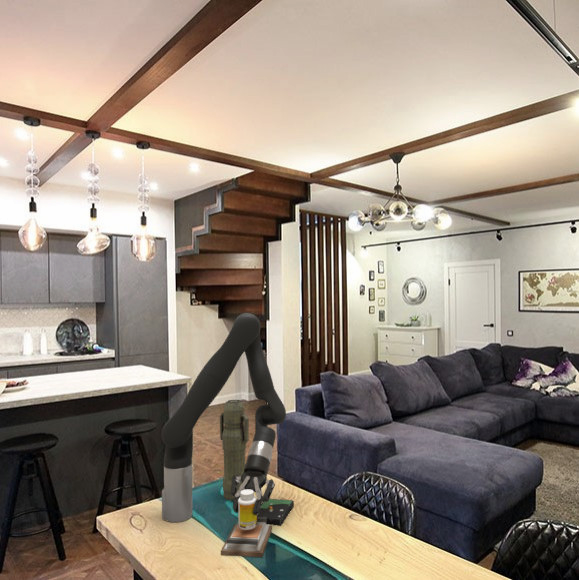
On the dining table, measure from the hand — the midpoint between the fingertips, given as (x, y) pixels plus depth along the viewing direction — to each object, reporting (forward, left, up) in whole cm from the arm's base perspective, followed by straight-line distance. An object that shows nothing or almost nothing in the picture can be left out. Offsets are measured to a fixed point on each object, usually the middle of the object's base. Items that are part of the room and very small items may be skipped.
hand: (245, 512), depth 137 cm
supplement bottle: (0, +2, -5) cm, 5 cm away
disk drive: (+5, +20, -10) cm, 23 cm away
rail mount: (0, +2, -9) cm, 9 cm away
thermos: (-12, +34, -9) cm, 37 cm away
